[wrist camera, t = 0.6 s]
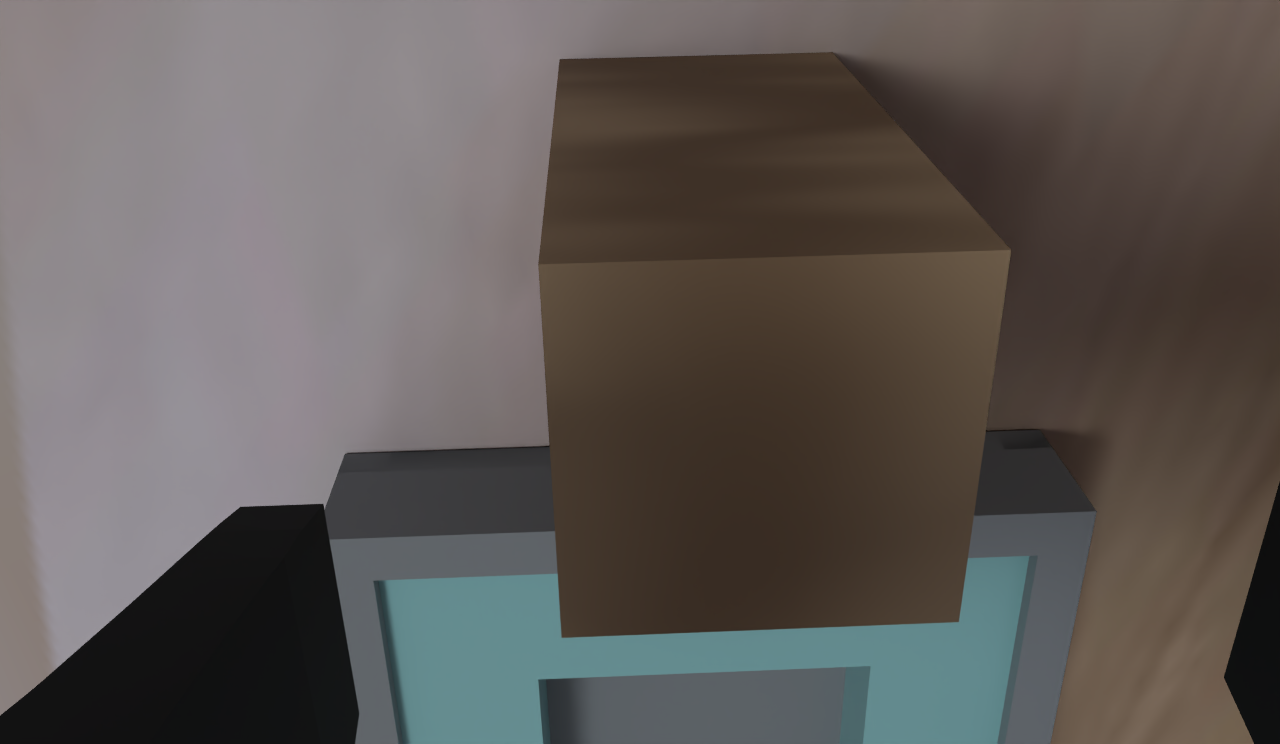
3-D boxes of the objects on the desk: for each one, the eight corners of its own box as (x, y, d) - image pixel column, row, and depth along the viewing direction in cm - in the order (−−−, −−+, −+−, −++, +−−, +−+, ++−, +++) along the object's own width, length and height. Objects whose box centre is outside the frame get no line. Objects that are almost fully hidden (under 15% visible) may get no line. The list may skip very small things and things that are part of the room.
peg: (831, 52, 17) (1010, 250, 10) (817, 302, 19) (959, 622, 12) (559, 59, 17) (537, 264, 10) (571, 309, 19) (561, 637, 11)
